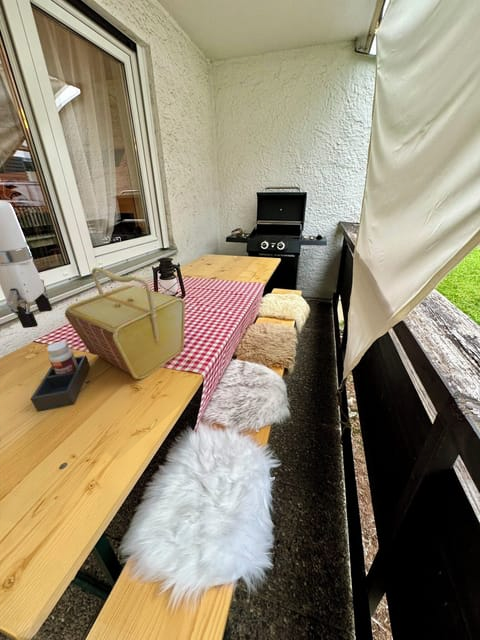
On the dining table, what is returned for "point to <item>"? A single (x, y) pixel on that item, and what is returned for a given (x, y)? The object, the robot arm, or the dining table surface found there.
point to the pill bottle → (62, 358)
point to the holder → (60, 387)
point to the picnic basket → (130, 325)
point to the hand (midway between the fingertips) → (39, 318)
